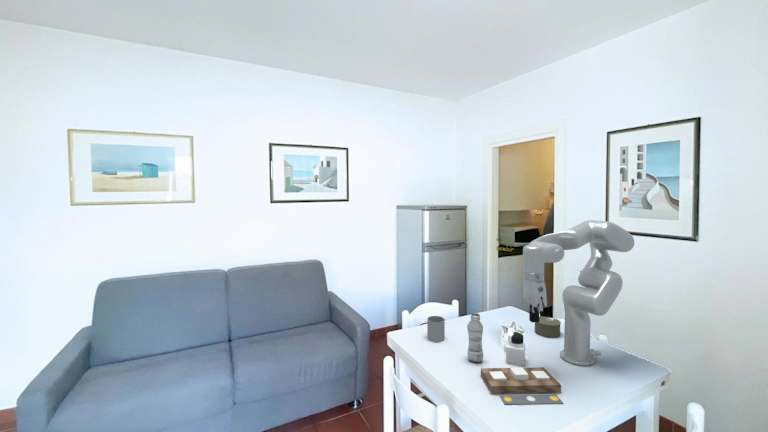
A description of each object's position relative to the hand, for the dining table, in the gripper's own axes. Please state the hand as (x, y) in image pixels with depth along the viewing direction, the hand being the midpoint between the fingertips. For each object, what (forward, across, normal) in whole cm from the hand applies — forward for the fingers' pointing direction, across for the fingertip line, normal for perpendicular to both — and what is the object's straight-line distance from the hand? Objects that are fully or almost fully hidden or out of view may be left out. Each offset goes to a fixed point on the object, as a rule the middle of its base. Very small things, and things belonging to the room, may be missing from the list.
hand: (534, 321), depth 127 cm
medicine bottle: (+21, +8, +4) cm, 23 cm away
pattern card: (+20, -18, +12) cm, 29 cm away
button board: (+20, -9, +11) cm, 24 cm away
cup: (+20, +32, +33) cm, 50 cm away
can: (+22, +34, -25) cm, 48 cm away
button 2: (+19, -9, +3) cm, 22 cm away
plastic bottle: (+20, +10, +21) cm, 31 cm away
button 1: (+19, -8, +19) cm, 28 cm away
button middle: (+18, -9, +11) cm, 23 cm away
